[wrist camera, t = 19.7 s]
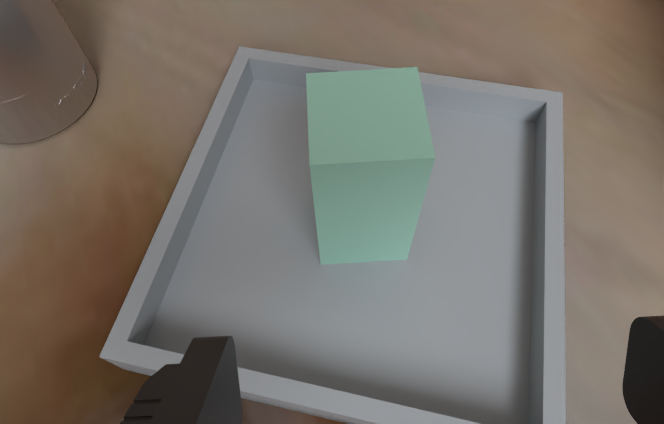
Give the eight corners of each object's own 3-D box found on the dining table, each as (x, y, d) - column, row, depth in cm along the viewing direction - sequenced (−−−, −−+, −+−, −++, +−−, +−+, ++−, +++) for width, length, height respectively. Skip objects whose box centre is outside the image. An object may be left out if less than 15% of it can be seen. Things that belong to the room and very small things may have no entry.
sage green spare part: (320, 264, 28) (309, 165, 19) (317, 191, 30) (306, 73, 22) (406, 259, 28) (435, 157, 19) (396, 186, 30) (417, 66, 22)
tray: (123, 369, 26) (99, 356, 24) (246, 77, 37) (239, 46, 34) (541, 470, 23) (566, 468, 21) (545, 122, 34) (562, 92, 31)
